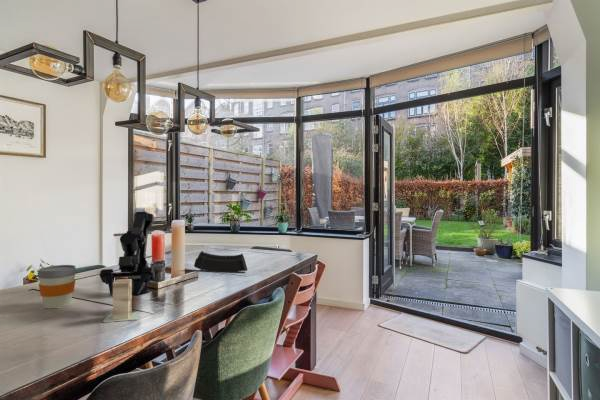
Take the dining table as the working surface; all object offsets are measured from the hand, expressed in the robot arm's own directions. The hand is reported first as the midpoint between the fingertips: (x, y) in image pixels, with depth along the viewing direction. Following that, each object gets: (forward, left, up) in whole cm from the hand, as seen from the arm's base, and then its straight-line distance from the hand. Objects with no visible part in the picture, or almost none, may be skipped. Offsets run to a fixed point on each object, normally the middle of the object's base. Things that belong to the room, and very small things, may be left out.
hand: (124, 294), depth 130 cm
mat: (+2, -2, -7) cm, 8 cm away
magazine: (-20, +73, -8) cm, 76 cm away
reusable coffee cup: (-32, -7, -8) cm, 34 cm away
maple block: (+2, -2, -7) cm, 8 cm away
